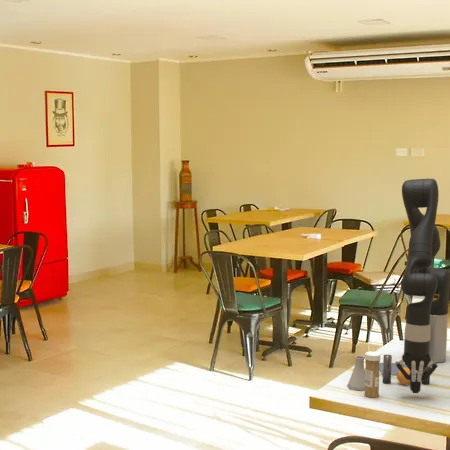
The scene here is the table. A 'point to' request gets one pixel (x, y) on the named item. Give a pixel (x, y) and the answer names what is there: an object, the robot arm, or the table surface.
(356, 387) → the flask
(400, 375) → the ball
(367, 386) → the sprinkles bottle
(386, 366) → the post
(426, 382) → the post
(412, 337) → the robot arm
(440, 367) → the table surface
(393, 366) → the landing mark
